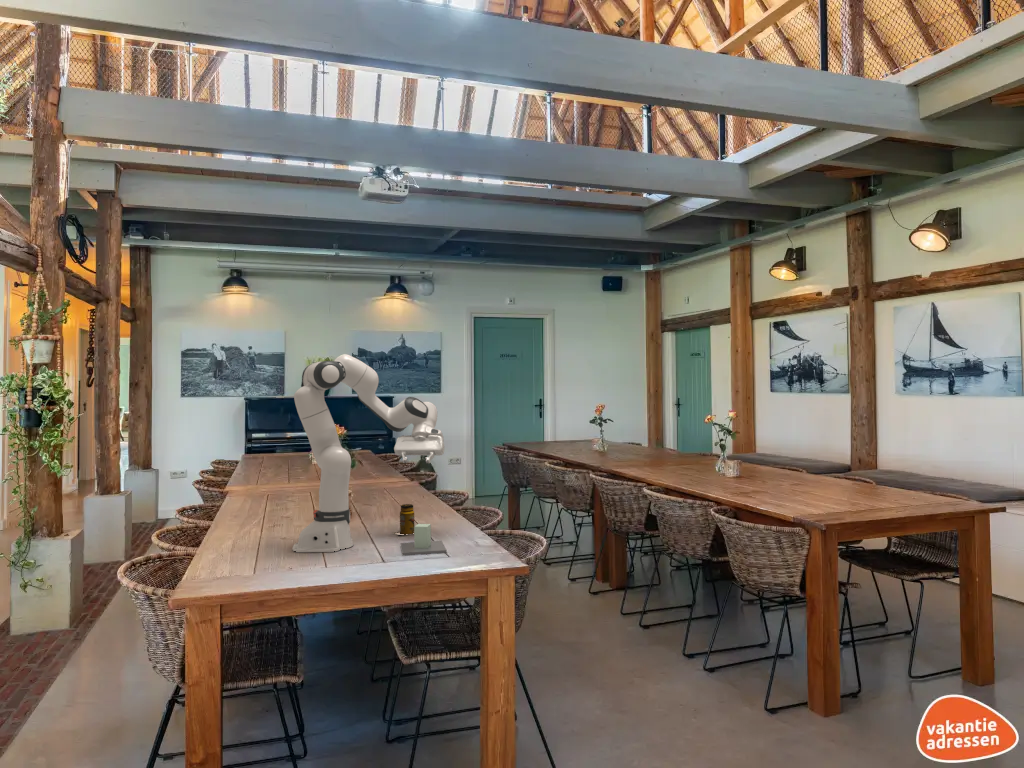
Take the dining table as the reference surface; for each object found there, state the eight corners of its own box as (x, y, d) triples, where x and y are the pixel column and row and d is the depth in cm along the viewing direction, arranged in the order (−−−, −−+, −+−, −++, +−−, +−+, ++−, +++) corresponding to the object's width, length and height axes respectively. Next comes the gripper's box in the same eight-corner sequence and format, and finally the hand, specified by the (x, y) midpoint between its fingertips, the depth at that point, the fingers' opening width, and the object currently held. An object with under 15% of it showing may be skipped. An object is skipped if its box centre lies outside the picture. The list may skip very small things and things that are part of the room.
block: (414, 547, 258) (414, 526, 258) (418, 544, 263) (417, 523, 263) (427, 548, 258) (427, 526, 258) (430, 545, 263) (430, 524, 263)
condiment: (418, 534, 287) (417, 505, 287) (399, 536, 282) (399, 507, 282) (410, 531, 293) (410, 502, 293) (392, 533, 288) (391, 505, 288)
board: (402, 555, 251) (402, 552, 251) (400, 545, 267) (400, 543, 267) (446, 552, 254) (446, 550, 254) (441, 543, 270) (441, 540, 270)
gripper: (396, 430, 283) (389, 457, 273) (444, 430, 280) (439, 457, 271) (399, 440, 288) (392, 466, 278) (447, 440, 285) (442, 467, 275)
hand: (416, 462), depth 274 cm, fingers open, 8 cm apart
